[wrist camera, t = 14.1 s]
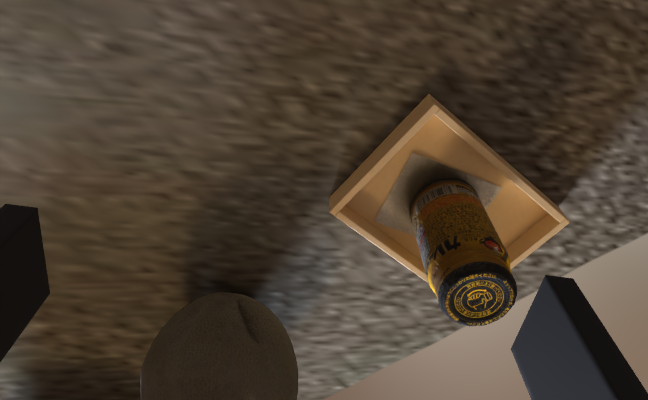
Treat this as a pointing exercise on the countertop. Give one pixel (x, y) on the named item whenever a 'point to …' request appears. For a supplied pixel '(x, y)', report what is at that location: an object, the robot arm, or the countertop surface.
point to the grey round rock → (221, 353)
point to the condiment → (453, 239)
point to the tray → (455, 152)
